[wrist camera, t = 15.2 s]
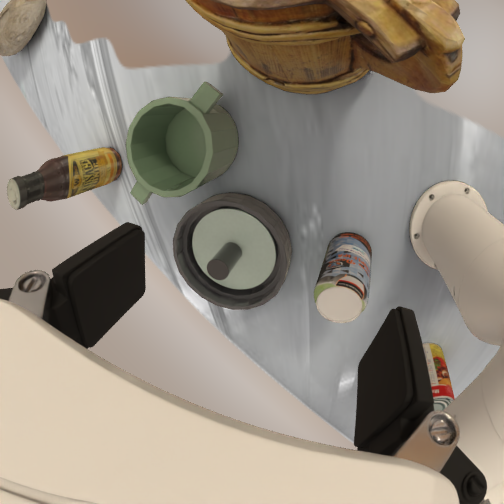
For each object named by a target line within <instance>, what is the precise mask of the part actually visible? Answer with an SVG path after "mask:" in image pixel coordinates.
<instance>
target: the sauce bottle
mask: <svg viewBox="0 0 504 504" xmlns="http://www.w3.org/2000/svg"><path fill="white" fill-rule="evenodd" d="M121 169H122V164H121V159H120V155H119V154H118V152H116V151H115V150H114V149H113V148H104V147H103V148H97V149H92V150H87V151H83V152H78V153H73V154H68V155H64V156H61V157H58V158H54V159H51V160H48V161H46V162H45V163H44V164H43V165H42V166H41V167H40V169H39V170H37V171H36V172H33V173H31V174H28V175H25V176H22V177H20V176H17V177H14V178H12V179H10V180H9V182H8V186H7V195H8V199H9V202H10V204H11V206H12V208H14V209H15V210H18V209H21V208H23V207H25V206H26V205H27V204H29V203H31V202H34V201H38V200H40V199H41V200H46V201H56V200H61V199H67V198H69V197H72V196H75V195H78V194H80V193H83V192H86V191H89V190H92V189H95V188H98V187H101V186H103V185H106V184H109V183H111V182H112V181H114V180H116V179H117V178H118V177H119V175H120V173H121Z"/></svg>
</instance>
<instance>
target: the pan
mask: <svg viewBox="0 0 504 504" xmlns="http://www.w3.org/2000/svg"><path fill="white" fill-rule="evenodd" d="M221 208H237V209H241V210H244V211H246V212H248V213H250V214H252V215H254V216H256V217H257V218H258V219H259V220H260V221H261V222H262V223H263V224H264V225H265V226H266V227H267V228H268V229H269V231H270V232H271V234H272V236H273V238H274V241H275V245H276V251H277V258H276V263H275V266H274V269H273V271H272V273H271V274H270V276H269V277H268V278H267V279H266V280H265V281H264V282H263V283H261V284H260V285H258V286H256V287H253V288H249V289H232V288H228V287H225V286H222V285H220V284H218V283H216V282H215V281H213V280H212V279H211V278H209V277H208V276H207V275H206V274H205V273H204V272H203V270H202V269H201V268H200V266H199V265H198V263H197V261H196V259H195V256H194V253H193V248H192V238H193V233H194V230H195V228H196V226H197V224H198V223H199V221H200V220H201V219H202V218H203V217H204V216H206V215H207V214H208V213H210V212H212V211H214V210H217V209H221ZM173 251H174V258H175V261H176V264H177V267H178V270H179V272H180V274H181V275H182V277H183V278H184V280H185V281H186V283H187V284H188V285H189V286H190V287H191V288H192V289H193V290H194V291H195V292H196V293H197V294H198V295H199V296H201V297H202V298H204V299H206V300H207V301H209V302H211V303H213V304H215V305H217V306H221V307H224V308H228V309H233V310H238V309H251V308H254V307H258V306H261V305H263V304H265V303H266V302H268V301H269V300H270V299H272V298H273V297H274V296H276V295H277V293H278V291H279V290H280V288H281V286H282V285H283V283H284V281H285V278H286V276H287V273H288V270H289V267H290V261H291V255H292V248H291V243H290V237H289V233H288V231H287V230H286V228H285V226H284V224H283V222H282V221H281V219H280V217H279V216H278V215H277V214H276V213H275V212H274V211H273V210H271V209H270V208H269V207H268V206H267V205H266V204H265V203H263V202H261V201H259V200H257V199H255V198H253V197H251V196H249V195H243V194H236V193H225V194H219V195H214V196H212V197H210V198H208V199H207V200H205V201H203V202H201V203H200V204H198V205H197V206H195V207H194V208H192V209H191V210H189V211H188V212H187V213H186V214H185V215H184V217H183V218H182V219H181V221H180V222H179V223H178V225H177V228H176V231H175V235H174V238H173Z"/></svg>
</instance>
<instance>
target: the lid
mask: <svg viewBox="0 0 504 504" xmlns="http://www.w3.org/2000/svg"><path fill="white" fill-rule="evenodd" d="M192 248H193V253H194V256H195V259H196V261H197V263H198V265H199V266H200V268H201V269H202V270H203V272H204V273H205V274H206V275H207V276H208V277H209V278H211V279H212V280H213V281H215V282H216V283H218V284H220V285H222V286H225V287H228V288H232V289H249V288H253V287H256V286H258V285H260V284H261V283H263V282H264V281H265V280H266V279H267V278H268V277H269V276H270V274H271V273H272V271H273V269H274V266H275V263H276V258H277V251H276V245H275V241H274V238H273V236H272V234H271V232H270V231H269V229H268V228H267V227H266V226H265V225H264V224H263V223H262V222H261V221H260V220H259V219H258V218H257V217H256V216H254V215H252V214H250V213H248V212H246V211H244V210H241V209H237V208H221V209H217V210H214V211H212V212H210V213H208V214H207V215H206V216H204V217H203V218H202V219H201V220H200V221H199V223H198V224H197V226H196V228H195V230H194V233H193V238H192Z"/></svg>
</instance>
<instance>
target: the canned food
mask: <svg viewBox="0 0 504 504" xmlns="http://www.w3.org/2000/svg"><path fill="white" fill-rule="evenodd" d="M422 345H423V349H424V353H425V357H426V362H427V367H428V371H429V376H430V382H431V387H432V393H433V399H434V403H433V404H434V411H435V410H442V411H443V410H444V409H445V408H446V407H447V406H448V405H449V404H450V403H452V401H453V400H455V399H454V394H453V390H452V386H451V381H450V377H449V373H448V370H447V366H446V362H445V358H444V355H443V351H442V349H441V347H440V346H438V345H437V344H434V343H424V344H422Z"/></svg>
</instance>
